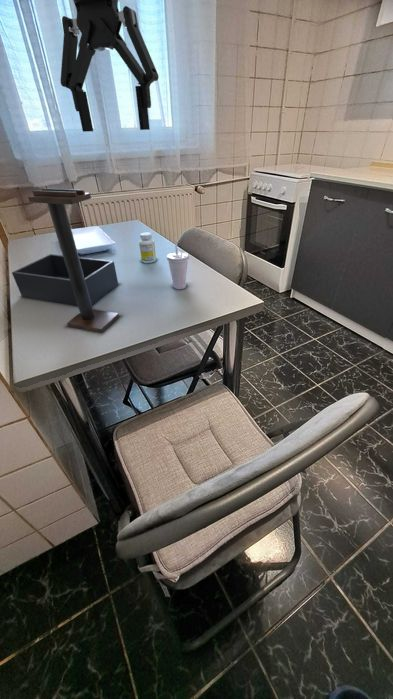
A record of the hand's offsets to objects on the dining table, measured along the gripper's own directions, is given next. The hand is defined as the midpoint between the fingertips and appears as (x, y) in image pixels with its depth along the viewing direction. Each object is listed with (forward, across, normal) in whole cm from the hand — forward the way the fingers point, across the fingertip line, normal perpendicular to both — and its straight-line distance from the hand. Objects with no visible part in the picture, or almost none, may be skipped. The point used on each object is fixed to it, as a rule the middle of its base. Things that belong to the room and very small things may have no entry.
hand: (115, 130), depth 61 cm
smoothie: (+39, -8, -11) cm, 41 cm away
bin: (+39, +23, +1) cm, 45 cm away
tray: (+39, +46, -39) cm, 72 cm away
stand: (+39, +6, +15) cm, 42 cm away
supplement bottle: (+39, +12, -28) cm, 49 cm away
